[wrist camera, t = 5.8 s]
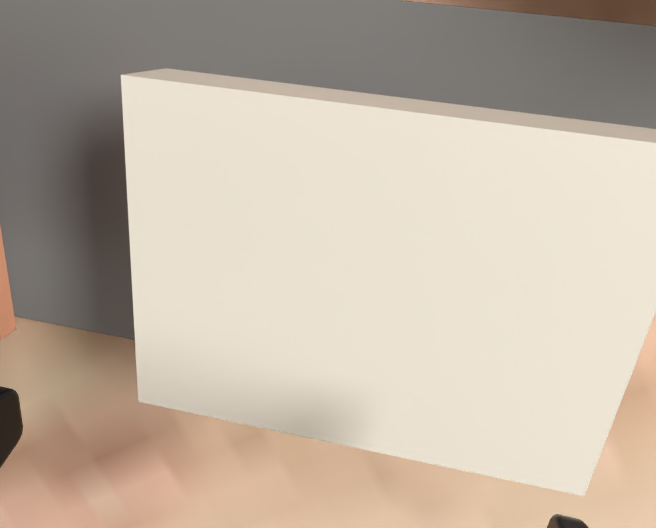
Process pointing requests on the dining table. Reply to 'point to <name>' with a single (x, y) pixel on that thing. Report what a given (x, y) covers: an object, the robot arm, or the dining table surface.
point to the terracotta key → (5, 297)
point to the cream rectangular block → (389, 269)
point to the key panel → (262, 64)
